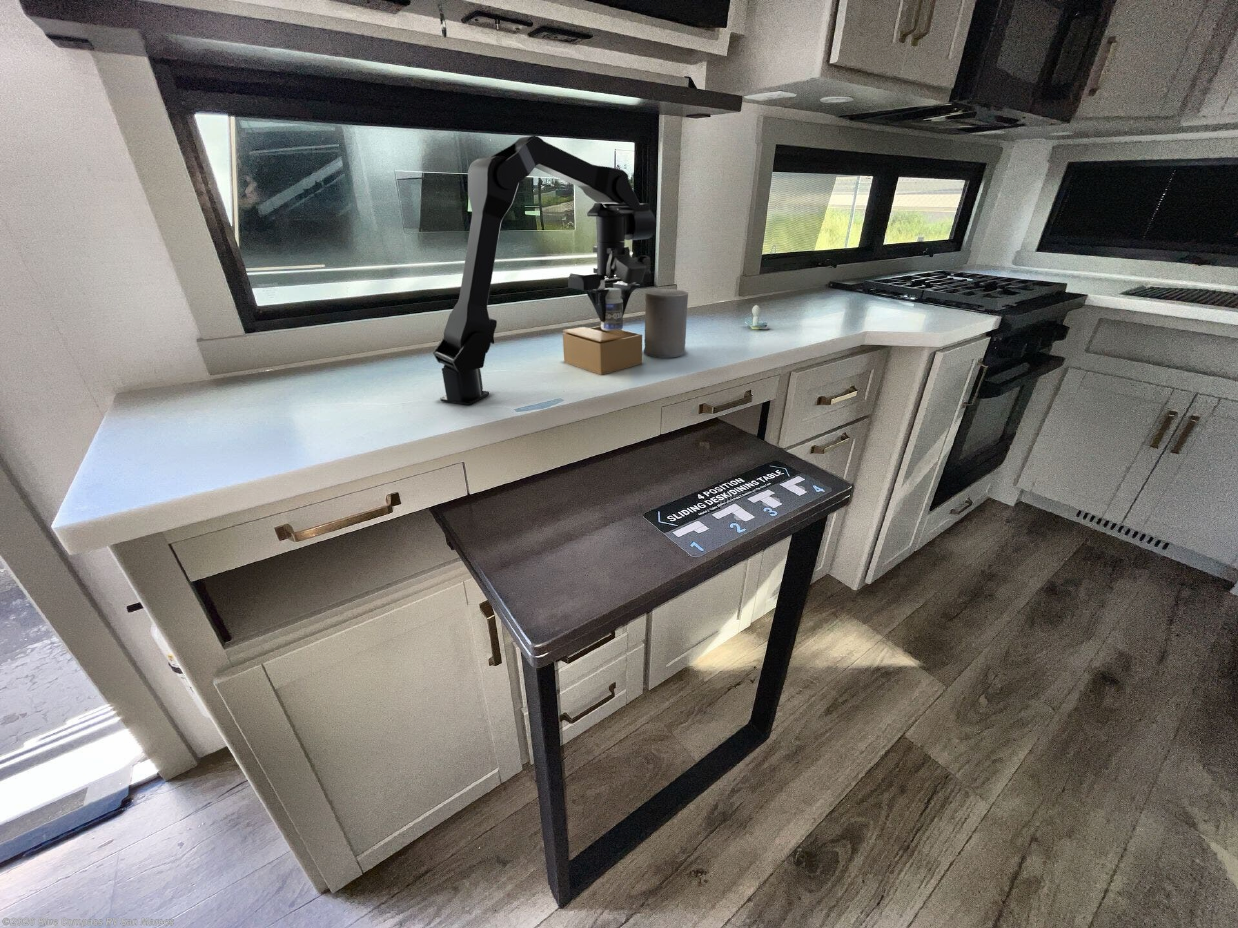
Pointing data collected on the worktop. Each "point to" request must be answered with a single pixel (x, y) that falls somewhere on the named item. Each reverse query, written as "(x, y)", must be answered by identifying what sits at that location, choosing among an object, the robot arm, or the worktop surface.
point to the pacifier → (756, 320)
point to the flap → (592, 334)
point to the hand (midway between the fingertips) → (611, 319)
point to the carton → (603, 351)
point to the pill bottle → (613, 311)
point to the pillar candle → (665, 322)
